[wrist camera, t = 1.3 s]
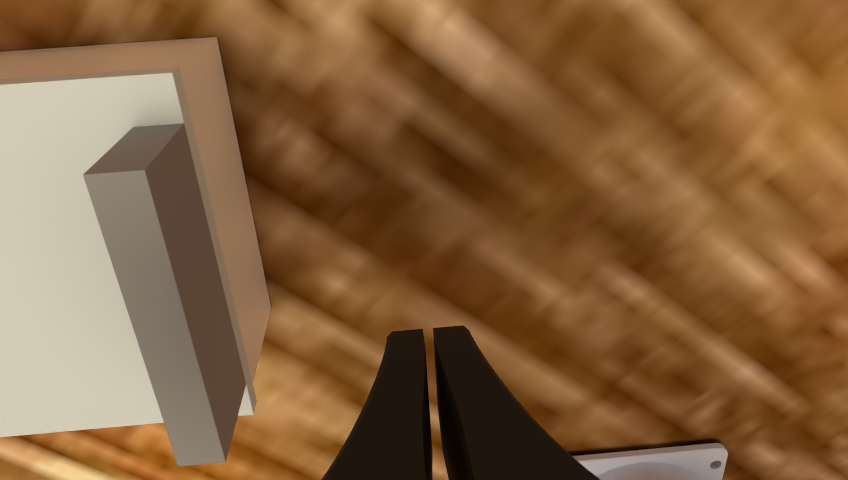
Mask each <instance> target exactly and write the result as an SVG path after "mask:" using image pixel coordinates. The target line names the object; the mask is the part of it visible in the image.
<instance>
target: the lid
mask: <svg viewBox="0 0 848 480" xmlns="http://www.w3.org/2000/svg"><path fill="white" fill-rule="evenodd" d="M256 401H257V400H256V396H255V392H254V388H253V383H252V379H251V375H250V370H249V366H248V362H247V357H246V353H245V349H244V344H243V340H242V336H241V331H240V327H239V323H238V319H237V314H236V310H235V306H234V301H233V297H232V293H231V288H230V284H229V280H228V275H227V271H226V267H225V262H224V258H223V254H222V249H221V245H220V241H219V237H218V232H217V228H216V224H215V219H214V215H213V211H212V206H211V202H210V198H209V193H208V189H207V185H206V180H205V176H204V172H203V168H202V163H201V159H200V155H199V150H198V146H197V142H196V137H195V133H194V129H193V124H192V120H191V116H190V111H189V107H188V103H187V98H186V94H185V90H184V86H183V81H182V77H181V73H180V68H179V67H168V68H153V69H139V70H125V71H111V72H97V73H82V74H68V75H54V76H40V77H26V78H11V79H0V437H7V436H18V435H29V434H40V433H52V432H63V431H74V430H85V429H96V428H108V427H119V426H130V425H141V424H152V423H164V424H165V427H166V430H167V434H168V437H169V440H170V443H171V446H172V449H173V452H174V455H175V458H176V461H177V464H178V466H187V465H198V464H209V463H220V462H226V459H227V455H228V451H229V447H230V444H231V440H232V436H233V432H234V428H235V425H236V421H237V417H238V416H242V415H253V414H254V410H255V406H256Z"/></svg>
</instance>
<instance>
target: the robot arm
mask: <svg viewBox="0 0 848 480" xmlns="http://www.w3.org/2000/svg"><path fill="white" fill-rule="evenodd" d="M433 334H434V351H435V368H436V384H437V401H438V413H439V422H440V431H441V440H442V449H443V455H444V459H445V464H446V469H447V473H448V478H449V480H722V478H723V474H724V470H725V465H726V461H727V457H728V452H727V450H726V448H725V447H724V446H723V444H720V443H709V444H698V445H688V446H677V447H666V448H655V449H645V450H634V451H623V452H612V453H602V454H591V455H580V456H571V455H570V454H569V453H568V452H567V451H566V450H564V449H563V448H562V447H561V446H560V445H559V444H558V443H557V442H556V441H555V440H554V439H553V438H552V437H551V436H550V435H549V434H548V433H547V432H546V431H545V430H544V429H543V428H542V427H541V426H540V425H539V424H538V423H537V422H536V421H535V420H534V419H533V418H532V417H531V415H530V414H529V413H528V412H527V411H526V410H525V409H524V408H523V407H522V405H521V404H520V403H519V402H518V401H517V399H516V398H515V397H514V396H513V395H512V393H511V392H510V391H509V390H508V388H507V387H506V386H505V384H504V383H503V382H502V381H501V379H500V378H499V377H498V375H497V374H496V373H495V371H494V370H493V369H492V367H491V366H490V364H489V363H488V361H487V360H486V358H485V357H484V355H483V354H482V352H481V351H480V349H479V348H478V346H477V344H476V343H475V341H474V339H473V337H472V335H471V333H470V331H469V330H468V329H467V328H466V327H465V326H452V327H440V328H433ZM322 480H432V441H431V426H430V411H429V396H428V381H427V366H426V352H425V343H424V336H423V329H417V330H405V331H393V332H392V333H391V334H390V335H389V336H387V343H386V348H385V352H384V356H383V359H382V362H381V365H380V368H379V371H378V374H377V377H376V379H375V382H374V384H373V386H372V389H371V391H370V394H369V396H368V399H367V401H366V403H365V405H364V407H363V409H362V411H361V413H360V415H359V417H358V419H357V421H356V423H355V425H354V427H353V429H352V431H351V433H350V435H349V437H348V438H347V440H346V442H345V444H344V445H343V447H342V449H341V450H340V452H339V454H338V455H337V457H336V459H335V460H334V462H333V463H332V465H331V466H330V468H329V469H328V471H327V472H326V474H325V475H324V477H323V478H322Z"/></svg>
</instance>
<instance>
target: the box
mask: <svg viewBox="0 0 848 480" xmlns="http://www.w3.org/2000/svg"><path fill="white" fill-rule="evenodd" d="M168 67H179V68H180V73H181V77H182V81H183V86H184V90H185V94H186V98H187V103H188V107H189V111H190V116H191V120H192V124H193V129H194V133H195V137H196V142H197V146H198V150H199V155H200V159H201V163H202V168H203V172H204V176H205V180H206V185H207V189H208V193H209V198H210V202H211V206H212V211H213V215H214V219H215V224H216V228H217V232H218V237H219V241H220V245H221V249H222V254H223V258H224V262H225V267H226V271H227V275H228V280H229V284H230V288H231V293H232V297H233V301H234V306H235V310H236V314H237V319H238V323H239V327H240V331H241V336H242V340H243V344H244V349H245V353H246V357H247V362H248V366H249V370H250V375H251V379H252V383H253V379H254V375H255V371H256V367H257V363H258V359H259V355H260V351H261V347H262V343H263V339H264V335H265V331H266V327H267V323H268V319H269V315H270V311H271V305H270V300H269V295H268V290H267V285H266V280H265V275H264V270H263V265H262V260H261V255H260V250H259V245H258V240H257V235H256V230H255V225H254V220H253V215H252V210H251V205H250V200H249V195H248V190H247V185H246V180H245V175H244V170H243V165H242V160H241V155H240V150H239V145H238V140H237V135H236V130H235V125H234V120H233V115H232V110H231V105H230V100H229V95H228V90H227V85H226V80H225V75H224V71H223V66H222V61H221V56H220V51H219V46H218V41H217V37H208V38H193V39H179V40H164V41H150V42H135V43H121V44H106V45H92V46H77V47H63V48H48V49H34V50H19V51H5V52H0V79H11V78H26V77H40V76H54V75H68V74H82V73H97V72H111V71H125V70H139V69H153V68H168Z"/></svg>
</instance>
